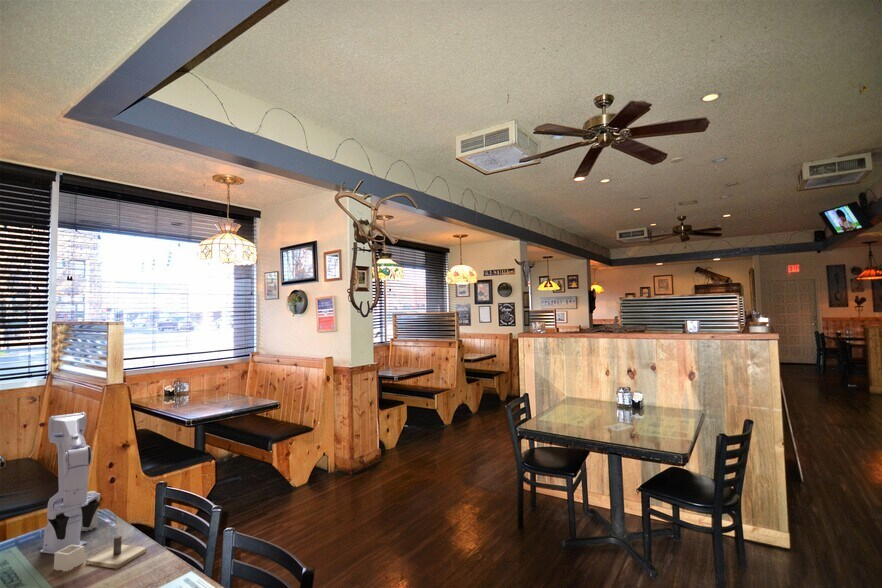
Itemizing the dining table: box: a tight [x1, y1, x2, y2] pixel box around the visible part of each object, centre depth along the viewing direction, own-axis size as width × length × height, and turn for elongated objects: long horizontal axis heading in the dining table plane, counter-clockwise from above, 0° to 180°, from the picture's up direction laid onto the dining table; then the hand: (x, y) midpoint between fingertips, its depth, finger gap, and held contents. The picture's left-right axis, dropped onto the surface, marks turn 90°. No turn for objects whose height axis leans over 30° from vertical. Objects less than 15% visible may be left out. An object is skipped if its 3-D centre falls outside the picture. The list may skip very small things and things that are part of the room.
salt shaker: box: [81, 490, 99, 532], centre depth 157 cm, size 6×6×13 cm
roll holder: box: [85, 535, 148, 570], centre depth 138 cm, size 12×10×6 cm
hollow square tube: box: [53, 544, 86, 572], centre depth 133 cm, size 5×5×5 cm
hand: (73, 532), depth 134 cm, fingers open, 7 cm apart
